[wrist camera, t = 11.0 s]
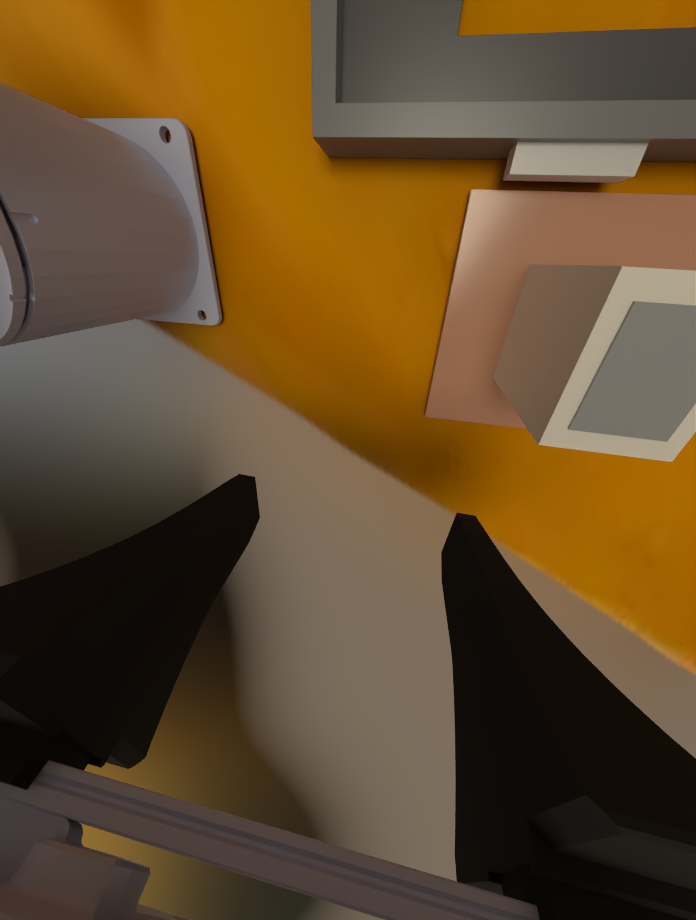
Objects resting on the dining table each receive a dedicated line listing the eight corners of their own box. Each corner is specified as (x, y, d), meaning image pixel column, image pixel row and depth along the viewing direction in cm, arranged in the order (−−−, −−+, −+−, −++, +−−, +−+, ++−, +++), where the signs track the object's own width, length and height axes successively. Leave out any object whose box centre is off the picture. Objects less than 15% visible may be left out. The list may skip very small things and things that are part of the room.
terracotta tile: (424, 412, 18) (424, 417, 18) (469, 192, 13) (471, 189, 12) (605, 433, 17) (611, 438, 16) (743, 199, 11) (759, 196, 11)
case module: (492, 378, 16) (539, 446, 10) (529, 264, 13) (624, 266, 7) (574, 386, 15) (673, 463, 9) (630, 270, 13) (821, 278, 7)
